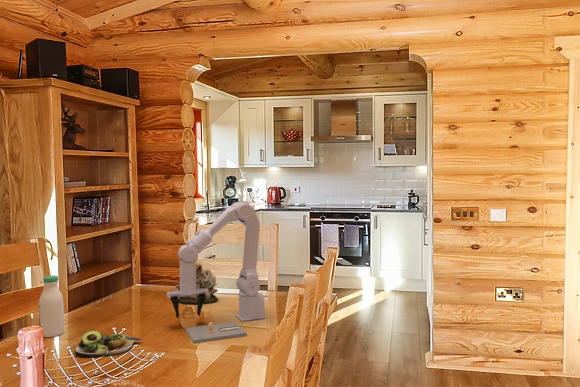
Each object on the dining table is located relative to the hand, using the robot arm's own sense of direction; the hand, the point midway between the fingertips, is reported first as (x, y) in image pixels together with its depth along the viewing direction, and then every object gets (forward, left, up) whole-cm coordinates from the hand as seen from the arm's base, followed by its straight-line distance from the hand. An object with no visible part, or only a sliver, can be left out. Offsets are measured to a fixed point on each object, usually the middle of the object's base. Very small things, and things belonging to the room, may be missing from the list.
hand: (188, 315), depth 176 cm
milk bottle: (+45, -10, -4) cm, 46 cm away
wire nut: (0, 0, -4) cm, 4 cm away
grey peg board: (-7, +12, -4) cm, 14 cm away
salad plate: (+29, +11, -4) cm, 31 cm away
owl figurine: (-10, -33, -4) cm, 35 cm away
